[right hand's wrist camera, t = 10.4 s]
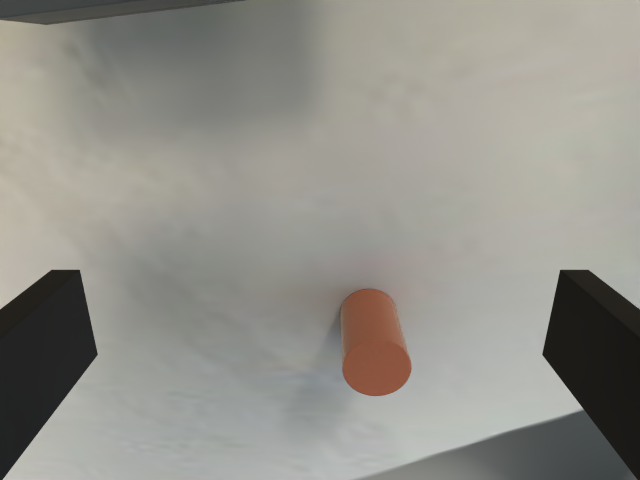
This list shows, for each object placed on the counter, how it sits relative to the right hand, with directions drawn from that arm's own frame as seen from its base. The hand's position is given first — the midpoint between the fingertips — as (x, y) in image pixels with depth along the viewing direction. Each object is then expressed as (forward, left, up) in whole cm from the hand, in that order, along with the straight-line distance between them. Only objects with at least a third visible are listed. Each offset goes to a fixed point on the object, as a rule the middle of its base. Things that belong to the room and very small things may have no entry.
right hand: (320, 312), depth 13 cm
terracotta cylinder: (+9, +9, -21) cm, 25 cm away
